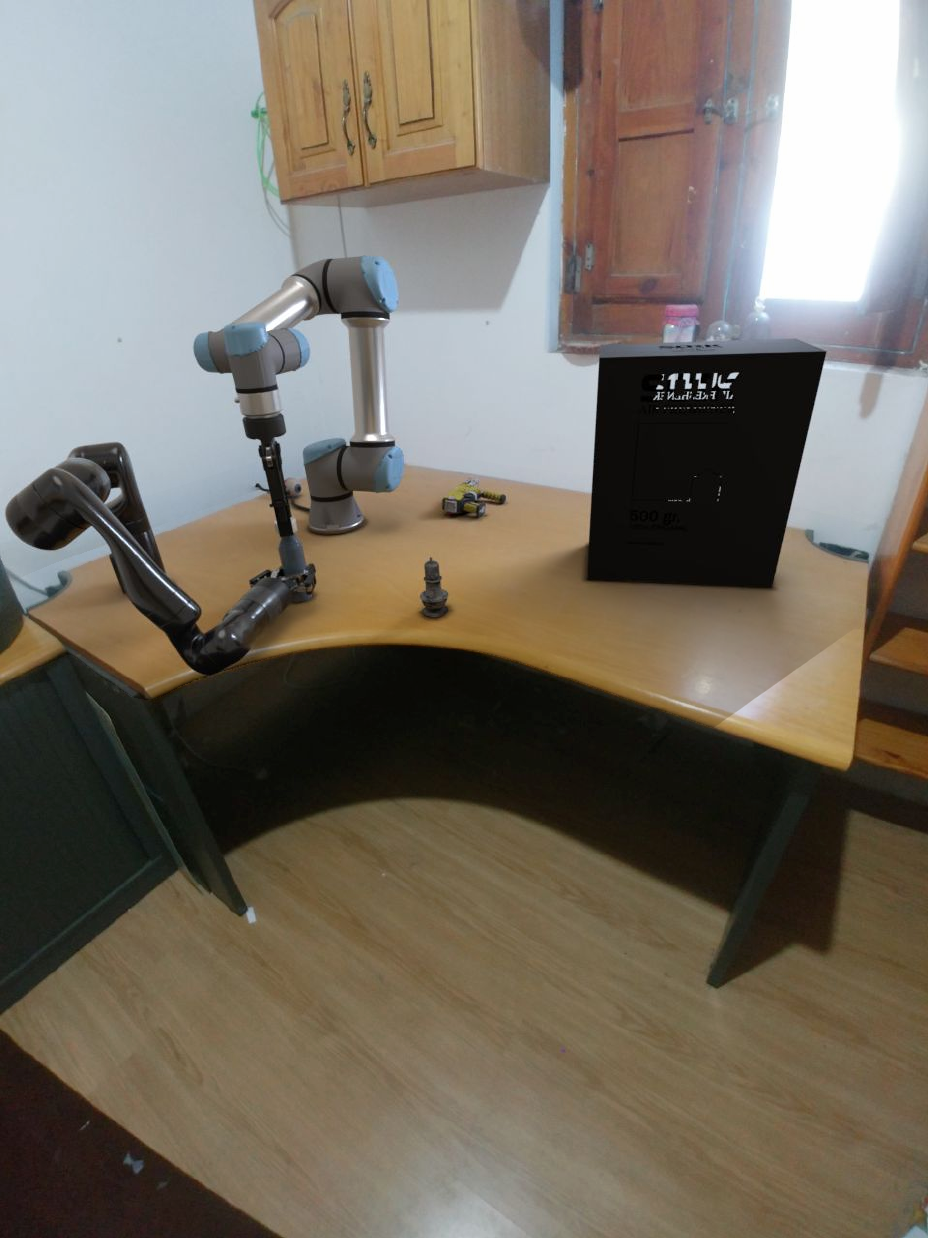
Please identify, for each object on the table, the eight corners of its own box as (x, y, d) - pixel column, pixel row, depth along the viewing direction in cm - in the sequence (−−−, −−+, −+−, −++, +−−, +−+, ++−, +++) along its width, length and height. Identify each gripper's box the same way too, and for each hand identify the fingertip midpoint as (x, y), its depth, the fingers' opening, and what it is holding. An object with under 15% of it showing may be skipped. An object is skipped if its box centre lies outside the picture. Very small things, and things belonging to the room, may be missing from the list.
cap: (285, 536, 122) (283, 525, 121) (271, 532, 124) (269, 522, 123) (301, 529, 125) (299, 519, 124) (288, 525, 127) (286, 515, 126)
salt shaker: (446, 618, 120) (442, 563, 114) (417, 616, 122) (412, 562, 116) (452, 604, 125) (448, 551, 119) (425, 602, 126) (420, 550, 120)
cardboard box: (752, 548, 142) (795, 338, 119) (772, 587, 124) (826, 351, 102) (589, 543, 149) (600, 344, 127) (586, 579, 132) (599, 357, 110)
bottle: (303, 603, 129) (288, 529, 121) (284, 600, 131) (267, 527, 123) (316, 593, 133) (302, 520, 125) (298, 590, 135) (282, 518, 127)
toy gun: (514, 482, 184) (468, 475, 188) (491, 505, 164) (440, 497, 168) (513, 497, 186) (467, 490, 190) (490, 522, 166) (439, 513, 170)
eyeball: (294, 500, 190) (290, 481, 187) (280, 497, 193) (276, 479, 190) (307, 494, 194) (304, 476, 191) (294, 492, 197) (290, 474, 194)
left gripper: (293, 588, 114) (328, 552, 128) (225, 585, 117) (267, 549, 131) (301, 622, 118) (334, 583, 132) (234, 618, 120) (274, 580, 135)
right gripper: (244, 408, 119) (269, 519, 131) (238, 425, 105) (266, 549, 117) (283, 404, 121) (304, 515, 132) (282, 421, 106) (306, 544, 118)
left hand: (300, 566), depth 131 cm, fingers closed on bottle, 5 cm apart
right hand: (286, 531), depth 124 cm, fingers closed on cap, 4 cm apart
